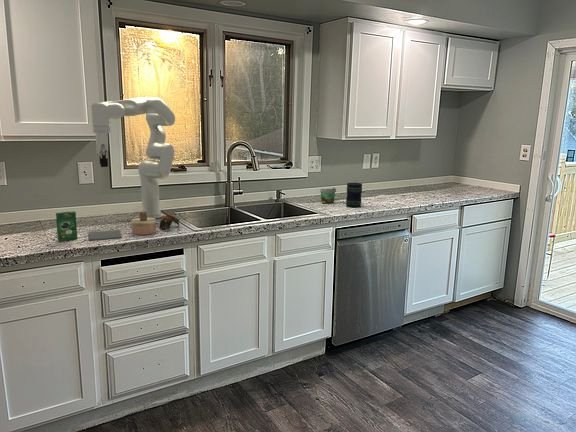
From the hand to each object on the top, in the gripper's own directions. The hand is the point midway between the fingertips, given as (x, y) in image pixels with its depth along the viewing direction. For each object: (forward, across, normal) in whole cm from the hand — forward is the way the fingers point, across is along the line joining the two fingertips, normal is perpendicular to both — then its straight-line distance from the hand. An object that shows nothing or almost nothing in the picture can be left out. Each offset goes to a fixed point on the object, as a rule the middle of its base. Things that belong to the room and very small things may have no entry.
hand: (104, 165), depth 221 cm
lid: (+27, +10, +16) cm, 33 cm away
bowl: (+32, +10, +16) cm, 37 cm away
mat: (+32, +10, -2) cm, 34 cm away
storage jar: (+32, -12, +150) cm, 154 cm away
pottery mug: (+33, +6, +29) cm, 44 cm away
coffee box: (+33, +12, -18) cm, 39 cm away
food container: (+32, -26, +140) cm, 146 cm away
